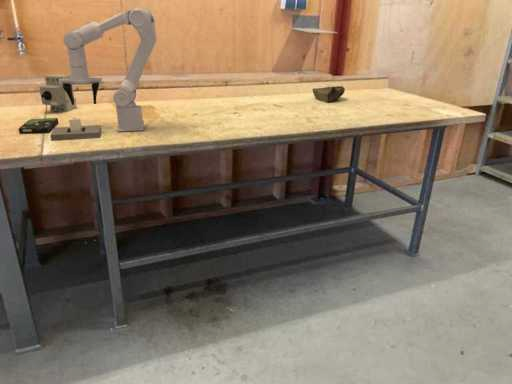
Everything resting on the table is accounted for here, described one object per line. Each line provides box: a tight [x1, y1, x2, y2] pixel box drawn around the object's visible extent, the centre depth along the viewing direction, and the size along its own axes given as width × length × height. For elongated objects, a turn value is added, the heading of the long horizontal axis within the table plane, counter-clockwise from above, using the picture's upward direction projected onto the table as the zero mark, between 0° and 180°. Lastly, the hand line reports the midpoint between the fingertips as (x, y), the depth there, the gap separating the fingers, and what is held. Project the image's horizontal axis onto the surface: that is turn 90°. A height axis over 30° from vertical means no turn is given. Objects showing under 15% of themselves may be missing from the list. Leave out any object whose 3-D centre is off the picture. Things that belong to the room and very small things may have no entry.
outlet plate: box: [50, 124, 102, 142], centre depth 151 cm, size 16×10×2 cm, turn 106°
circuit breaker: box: [38, 73, 78, 113], centre depth 182 cm, size 8×14×15 cm, turn 166°
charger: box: [68, 116, 82, 132], centre depth 150 cm, size 3×3×6 cm
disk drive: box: [18, 117, 59, 135], centre depth 158 cm, size 10×3×15 cm
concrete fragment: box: [312, 85, 346, 104], centre depth 217 cm, size 15×10×15 cm
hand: (84, 103), depth 156 cm, fingers open, 7 cm apart
